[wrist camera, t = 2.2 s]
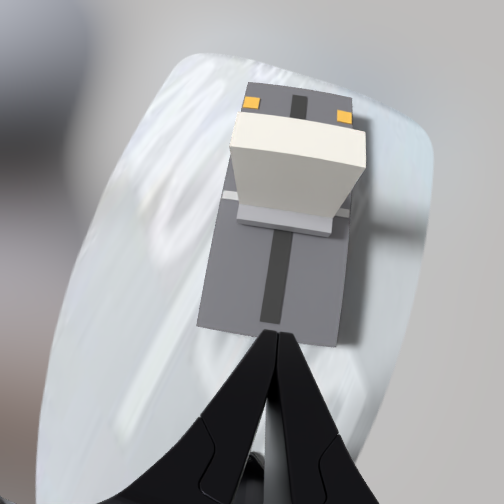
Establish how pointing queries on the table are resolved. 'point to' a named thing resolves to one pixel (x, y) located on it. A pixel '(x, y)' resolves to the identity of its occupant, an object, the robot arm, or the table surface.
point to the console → (278, 247)
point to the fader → (293, 171)
